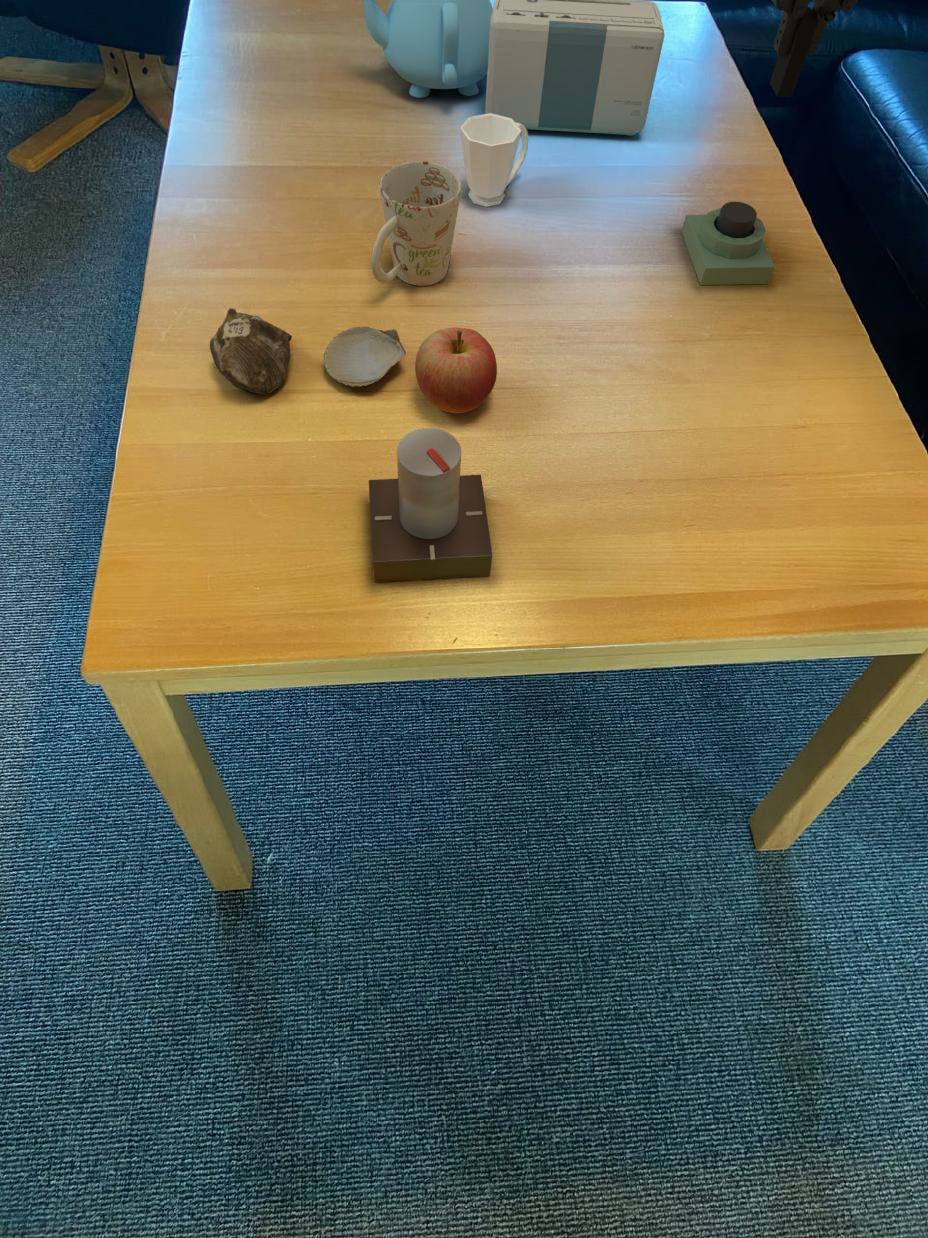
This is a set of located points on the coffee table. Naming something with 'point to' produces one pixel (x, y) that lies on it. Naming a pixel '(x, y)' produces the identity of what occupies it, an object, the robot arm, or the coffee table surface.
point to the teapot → (434, 41)
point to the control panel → (429, 557)
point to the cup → (491, 155)
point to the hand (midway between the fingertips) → (780, 89)
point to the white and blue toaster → (574, 63)
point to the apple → (456, 369)
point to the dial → (429, 482)
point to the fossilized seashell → (251, 352)
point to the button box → (726, 252)
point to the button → (736, 219)
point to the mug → (417, 222)
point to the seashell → (362, 355)
